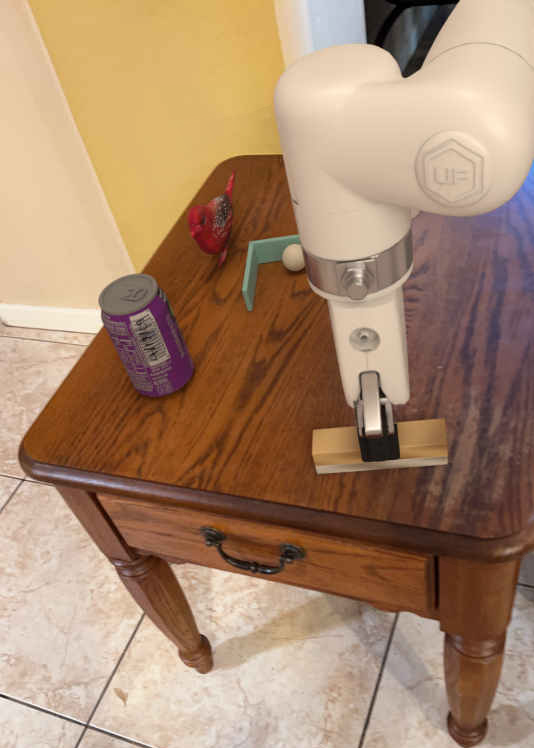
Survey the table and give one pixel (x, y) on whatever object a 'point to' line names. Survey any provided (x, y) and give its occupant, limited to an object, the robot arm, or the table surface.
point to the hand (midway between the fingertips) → (379, 421)
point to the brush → (417, 448)
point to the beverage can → (146, 334)
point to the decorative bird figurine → (213, 223)
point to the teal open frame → (262, 261)
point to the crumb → (293, 257)
